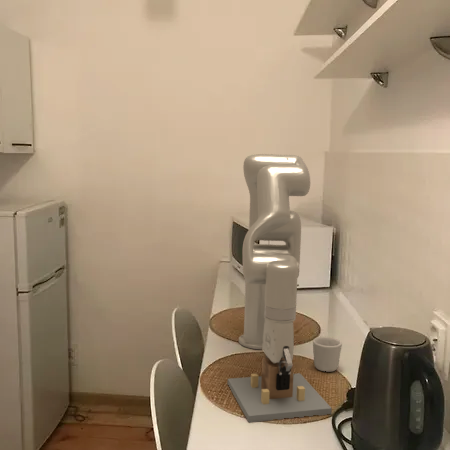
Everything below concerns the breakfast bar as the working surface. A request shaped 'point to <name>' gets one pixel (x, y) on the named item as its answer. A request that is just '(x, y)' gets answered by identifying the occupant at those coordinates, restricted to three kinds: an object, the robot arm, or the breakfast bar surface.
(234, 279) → the breakfast bar surface
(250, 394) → the base board
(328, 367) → the cup
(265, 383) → the walnut block
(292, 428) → the breakfast bar surface
